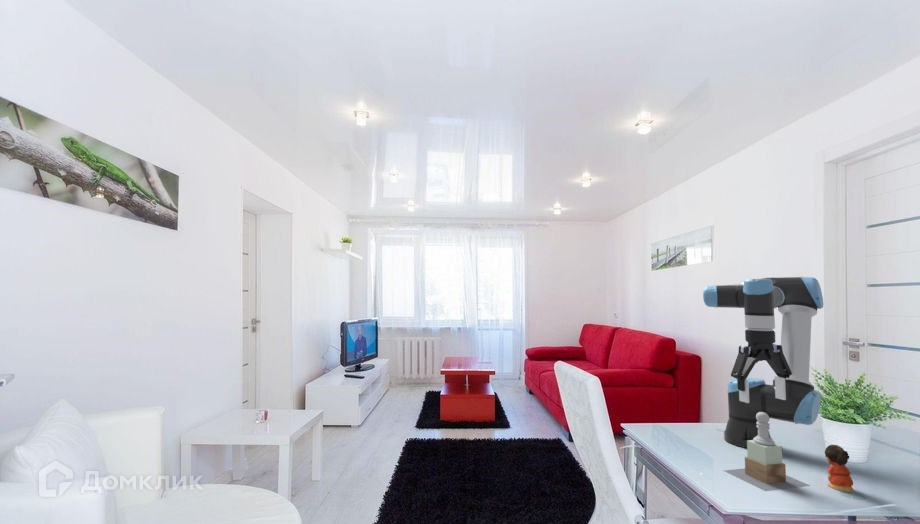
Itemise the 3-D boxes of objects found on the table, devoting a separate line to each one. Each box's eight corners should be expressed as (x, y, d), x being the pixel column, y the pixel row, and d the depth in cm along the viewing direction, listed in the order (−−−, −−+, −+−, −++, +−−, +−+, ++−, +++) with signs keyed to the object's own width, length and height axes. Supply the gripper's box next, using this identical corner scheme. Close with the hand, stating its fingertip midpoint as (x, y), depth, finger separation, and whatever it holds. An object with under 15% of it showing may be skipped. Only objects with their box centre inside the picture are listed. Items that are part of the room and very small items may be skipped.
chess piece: (748, 441, 131) (747, 410, 131) (761, 439, 132) (760, 409, 133) (766, 447, 126) (765, 415, 126) (779, 445, 127) (778, 414, 128)
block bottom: (763, 471, 133) (763, 455, 133) (785, 481, 126) (785, 463, 126) (745, 473, 131) (744, 456, 131) (766, 483, 124) (766, 465, 124)
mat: (765, 467, 137) (765, 466, 137) (810, 486, 123) (810, 485, 123) (723, 471, 133) (723, 470, 133) (765, 492, 120) (765, 490, 120)
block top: (763, 455, 132) (762, 439, 133) (782, 463, 126) (781, 445, 127) (747, 457, 131) (746, 440, 131) (765, 465, 125) (765, 447, 125)
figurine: (860, 493, 120) (858, 448, 121) (846, 495, 118) (843, 450, 119) (835, 483, 126) (833, 441, 127) (821, 485, 124) (819, 442, 125)
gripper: (780, 327, 138) (783, 394, 137) (715, 329, 132) (718, 399, 131) (804, 329, 131) (807, 400, 129) (736, 331, 125) (739, 406, 124)
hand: (762, 400), depth 130 cm, fingers open, 13 cm apart
